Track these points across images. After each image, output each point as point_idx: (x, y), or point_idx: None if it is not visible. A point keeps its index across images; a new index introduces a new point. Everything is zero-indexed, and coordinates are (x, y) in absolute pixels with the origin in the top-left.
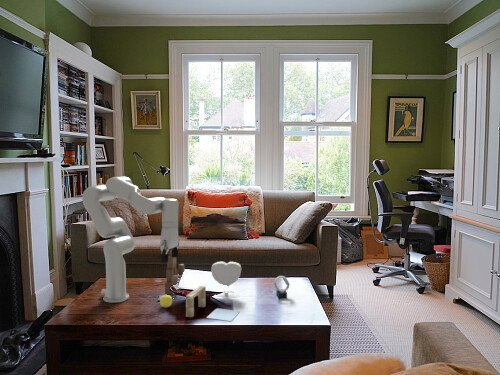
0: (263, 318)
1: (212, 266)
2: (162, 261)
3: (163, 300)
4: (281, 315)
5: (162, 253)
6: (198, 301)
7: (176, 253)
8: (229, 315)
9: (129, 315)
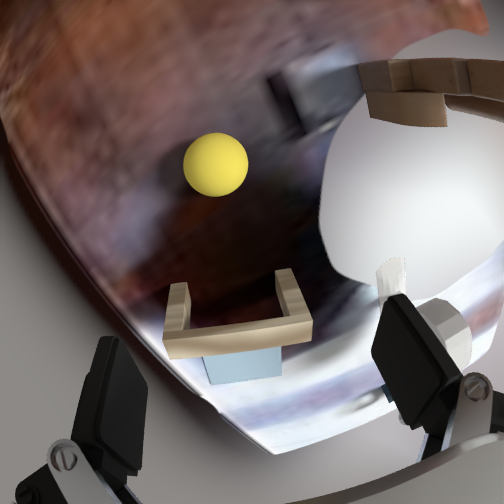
0: (261, 412)
1: (444, 343)
2: (106, 344)
3: (185, 173)
4: (289, 422)
5: (64, 455)
6: (279, 283)
7: (391, 382)
8: (242, 370)
9: (70, 88)
